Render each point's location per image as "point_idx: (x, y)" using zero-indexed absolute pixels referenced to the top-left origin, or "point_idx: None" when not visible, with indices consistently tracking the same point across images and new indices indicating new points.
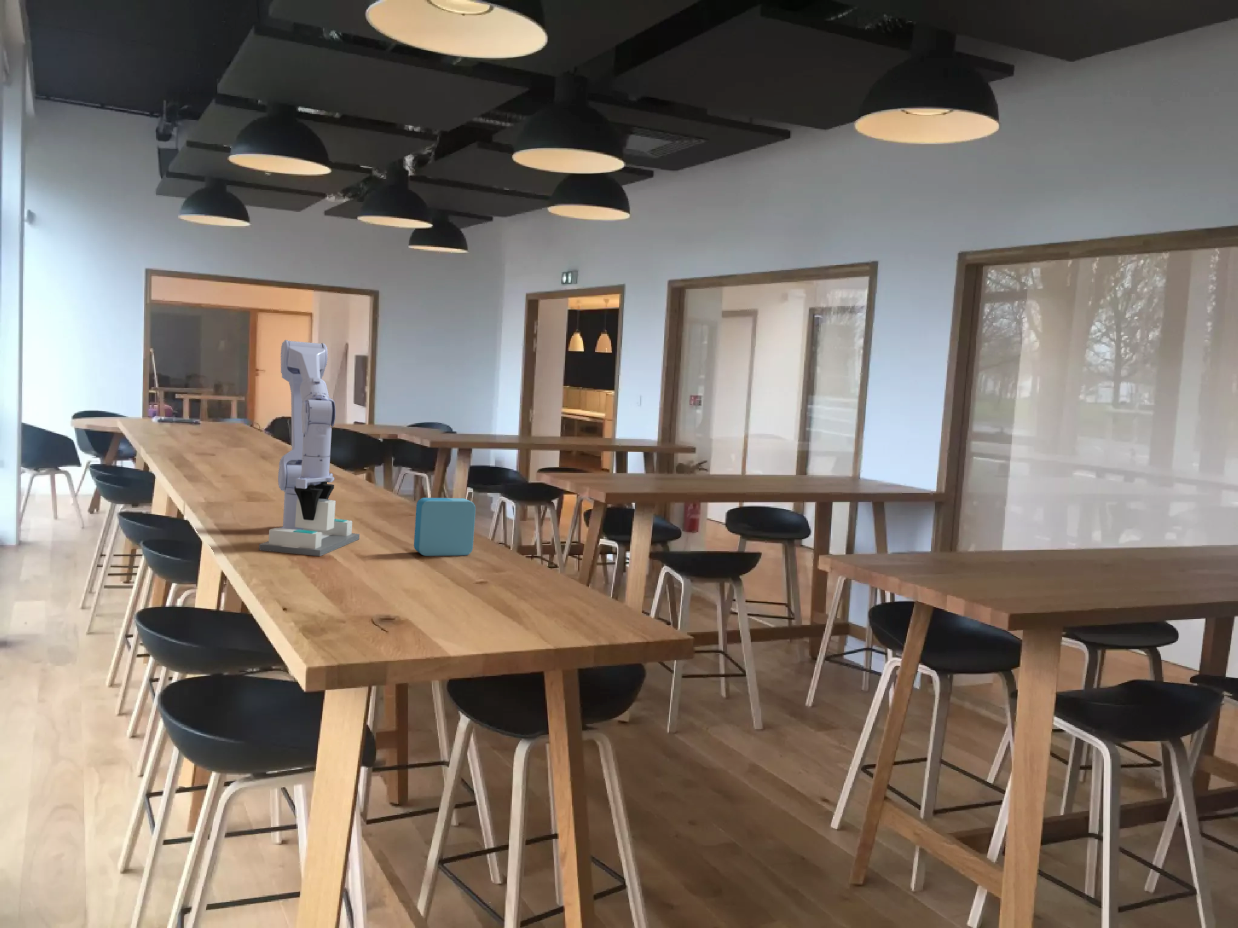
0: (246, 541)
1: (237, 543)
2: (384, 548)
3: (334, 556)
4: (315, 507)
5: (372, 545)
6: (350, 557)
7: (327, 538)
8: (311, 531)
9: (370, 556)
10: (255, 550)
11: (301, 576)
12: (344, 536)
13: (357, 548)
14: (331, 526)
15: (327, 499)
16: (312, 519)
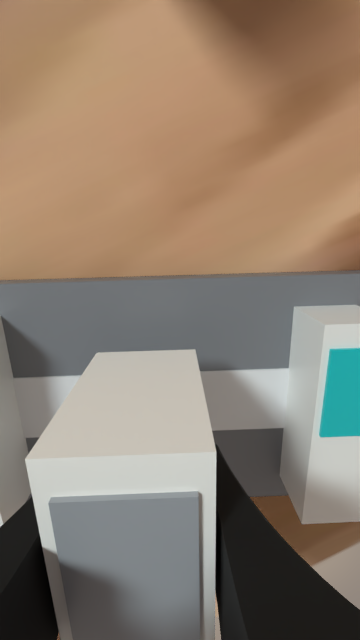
0: None
1: None
2: (56, 75)
3: (347, 217)
4: (234, 497)
5: (22, 166)
6: (343, 144)
7: None
8: (348, 368)
9: (285, 61)
10: None
11: None
12: (18, 318)
13: (132, 201)
14: (127, 356)
15: (64, 523)
16: (218, 446)
